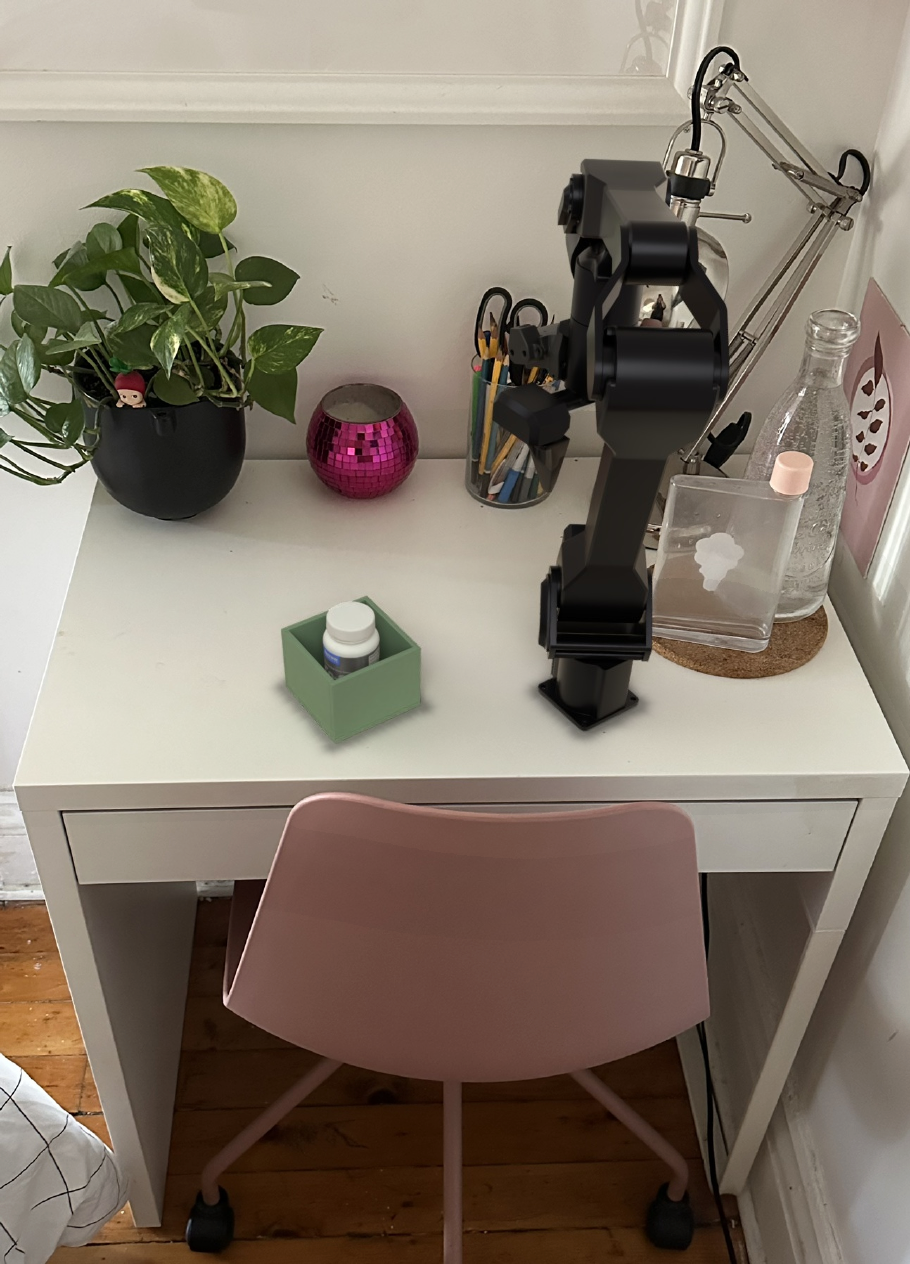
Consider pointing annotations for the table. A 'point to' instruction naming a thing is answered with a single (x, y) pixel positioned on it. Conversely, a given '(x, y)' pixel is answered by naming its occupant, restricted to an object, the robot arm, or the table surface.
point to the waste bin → (352, 677)
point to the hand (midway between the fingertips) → (585, 475)
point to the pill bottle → (350, 639)
